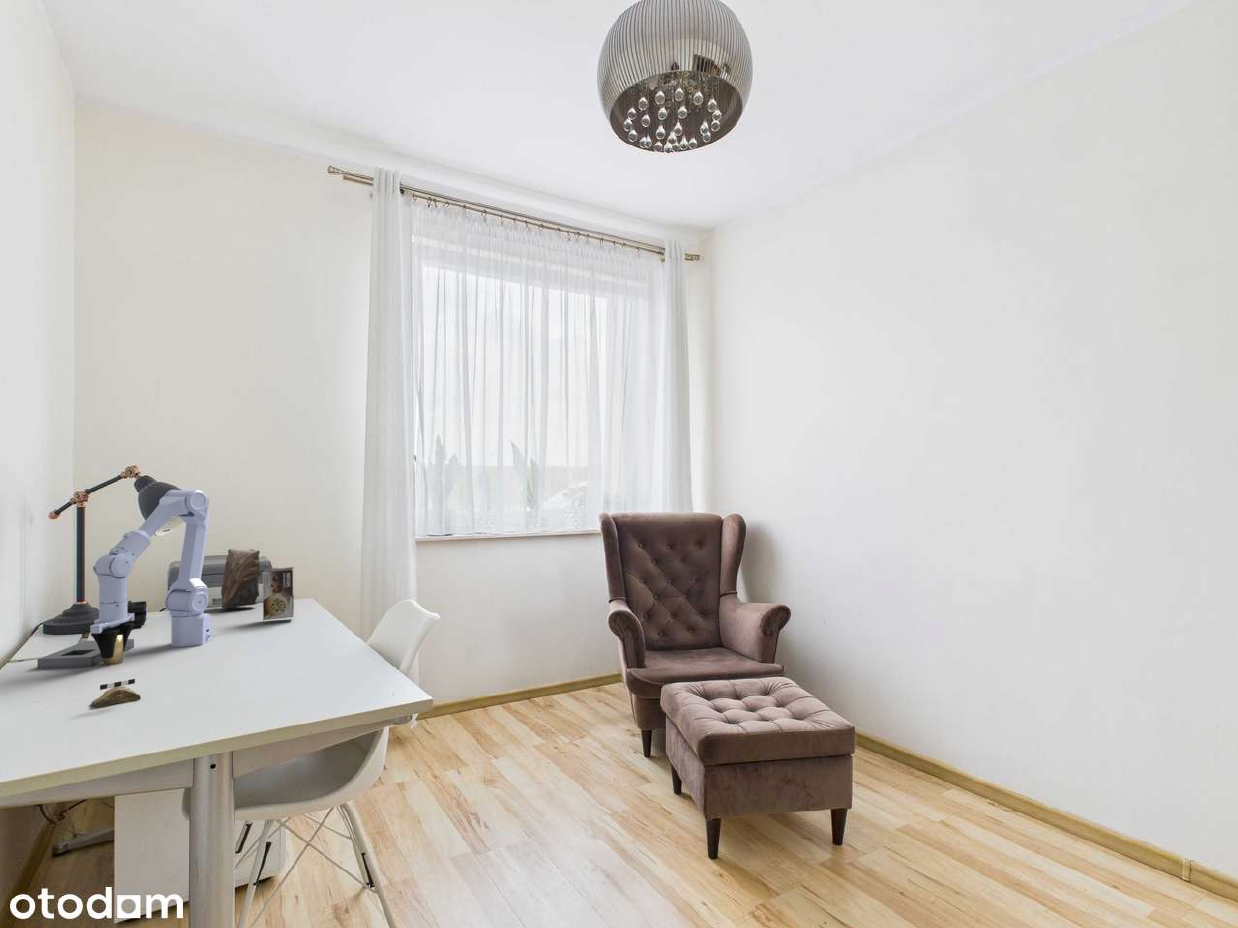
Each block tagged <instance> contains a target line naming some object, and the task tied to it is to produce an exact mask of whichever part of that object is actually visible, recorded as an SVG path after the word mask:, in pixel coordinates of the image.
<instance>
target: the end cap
mask: <svg viewBox="0 0 1238 928" xmlns="http://www.w3.org/2000/svg"><path fill="white" fill-rule="evenodd" d="M144 607H146V608H147V601H145V600H143V601H133V602H132V600H128V603H127V613H134V620H133V621H128V623H134V627H137V626H138V627H139V626H144V625H145V623H146V622H147V610H146V611H144Z"/></svg>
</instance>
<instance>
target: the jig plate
mask: <svg viewBox="0 0 1238 928" xmlns="http://www.w3.org/2000/svg"><path fill="white" fill-rule="evenodd" d="M132 649H135V638H128V640H127V643H126V647H125V650H124V653H125V652H127V651H130V650H132ZM100 663H103V659H102V656H101V653H100V650H99V647H98V645H97V643H96V641H95V639H94V640H85V641H81V642H78V643H77V644H73V645H72V646H69V647H65V648H63V649H61V650H58V651H55V652H53V653H50V654H48V655H46V656H42V657H41V658H40V657H39V658H37V666H36V667H37V670H43V669H44V670H45V669H64V668H65V669H66V668H67V669H68V668H69V669H70V668H71V669H72V668H90V667H91V668H92V667H94V666H96V665H98V664H100ZM41 668H42V669H41Z"/></svg>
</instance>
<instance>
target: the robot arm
mask: <svg viewBox="0 0 1238 928" xmlns="http://www.w3.org/2000/svg"><path fill="white" fill-rule="evenodd" d="M210 500H211V499H210V498H209V496H207V495H206V493H205V492H204V491H202V490H200V489H194V490H193V489H192V490H191V489H190V490H187V489H186V490H185V489H183V490H182V489H180V490H177V489H170V490H168V491H167V492H166V493H165V494H164V496H162V497H161V498H160V499H159V501H158V502H159V504H158V505H157V506H156V507H155V509H154V510H153V511H152V513H151V514H150V515H149V516H148V517H147V518H146V520H145V521H144V522H143V523H142V525H141V526H139V528H138V529H137V530H130V531H128V532H125V533H124V534H123V535H122V539H121V540H119V542H118V543H117V544H116V545H115V546H113V547H112V548H111V549H110V550H109V552H108V554H106V553H105V554H104V555H101V556H100V557H99V558H98V559H97V560H96V562H95V565H94V566H92V571H93V572H94V574H95V575H96V577H97V582H98V587H99V589H98V590H99V591H98V618H97V619H94V620H93V623H94V624H92V625H90V636H91V637H92V638H93V639H94V640H95V641H96V643H97V645H98V647H99V650H100V653H101V656H102V659H105V658H113V655H114V648H115V642H116V639H117V636H118V634H123V654H124V653H125V652H124V650H125V647H126V643H127V640H128V639H129V637H130V634H131V632H132V631H133V629H134V628H135V626H134V623H128V621H133V620H134V613H127V603H128V601H129V600H128V591H129V590H128V588H129V587H128V584H129V583H128V581H129V580H128V576H129V575H130V574H131V573H133V570H134V569H135V564H136V562H137V559H139V557H140V556H141V555H142V554H143V553H144V552H145V551H146V550H147V548H148V547H150V545H151V543H152V542H151V537H152V536H153V535H155V533H157V532H158V531H159V530H160V529H161V528H162V527H163V526H164V525H165V524H166V523H167V522H169V520H170V519H172V518H173V517H178V518H180V519H181V520H182V521H183V522H184V523H185V524H186V525H185V530H184V531H185V532H184V539H183V544H182V549H181V550H182V551H181V556H180V563H179V564H180V565H179V571H178V577H177V579H176V580H175V581H174V582H172V583H171V585H170V586H169V591H168V593H167V595H166V596H165V599H164V607H165V608H166V610H167V611H169V615H170V616H171V618H170V619H171V622H170V623H171V626H170V628H171V629H170V630H171V633H170V634H171V636H170V637H171V641H170V642H171V646H172V647H176V648H177V647H188V646H204V645H206V644H208V643H210V642H214V640H215V639H213V624H214V623H213V617H212V614H210V613H204V612H205V610H206V609H207V607H208V605H209V596H208V585H206V584H205V583H204V581H202V574H203V567H204V561H205V555H206V554H205V553H206V546H207V541H208V540H207V539H208V535H209V529H210V520H211V517H210V513H209V512H210V511H209V507H210V506H209V505H210Z"/></svg>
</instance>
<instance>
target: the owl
mask: <svg viewBox="0 0 1238 928" xmlns="http://www.w3.org/2000/svg"><path fill="white" fill-rule="evenodd" d="M227 552H228V554H227V556H226V559H225V560H226V561H225V564H224V572H223V573H224V574H223V578H222V579H223V580H222V585H221V590H220V593H221V608H222V610H223V609H225V610H226V609H231V608H232V609H233V608H239V607H240V608H241V607H246V606H255V605H258V602H257V599H258V597H259V596H260V590H259V587H260V585H259V580H260V578H261V575H262V571H261V568H260V558H259V557H260V553H261V551H260V550H255V549H246V550H245V549H235V548H231V549H230V548H229V549H228V550H227Z"/></svg>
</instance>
